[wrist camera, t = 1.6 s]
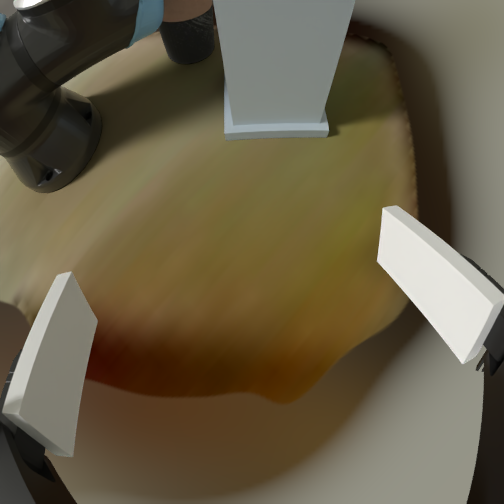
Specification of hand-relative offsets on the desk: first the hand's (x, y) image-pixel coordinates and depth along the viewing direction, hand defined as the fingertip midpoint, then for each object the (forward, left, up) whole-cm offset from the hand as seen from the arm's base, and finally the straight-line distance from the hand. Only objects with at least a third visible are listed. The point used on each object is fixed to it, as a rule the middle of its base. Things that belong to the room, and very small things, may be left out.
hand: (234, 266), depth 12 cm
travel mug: (-24, +27, -19) cm, 41 cm away
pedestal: (-8, +22, -19) cm, 31 cm away
